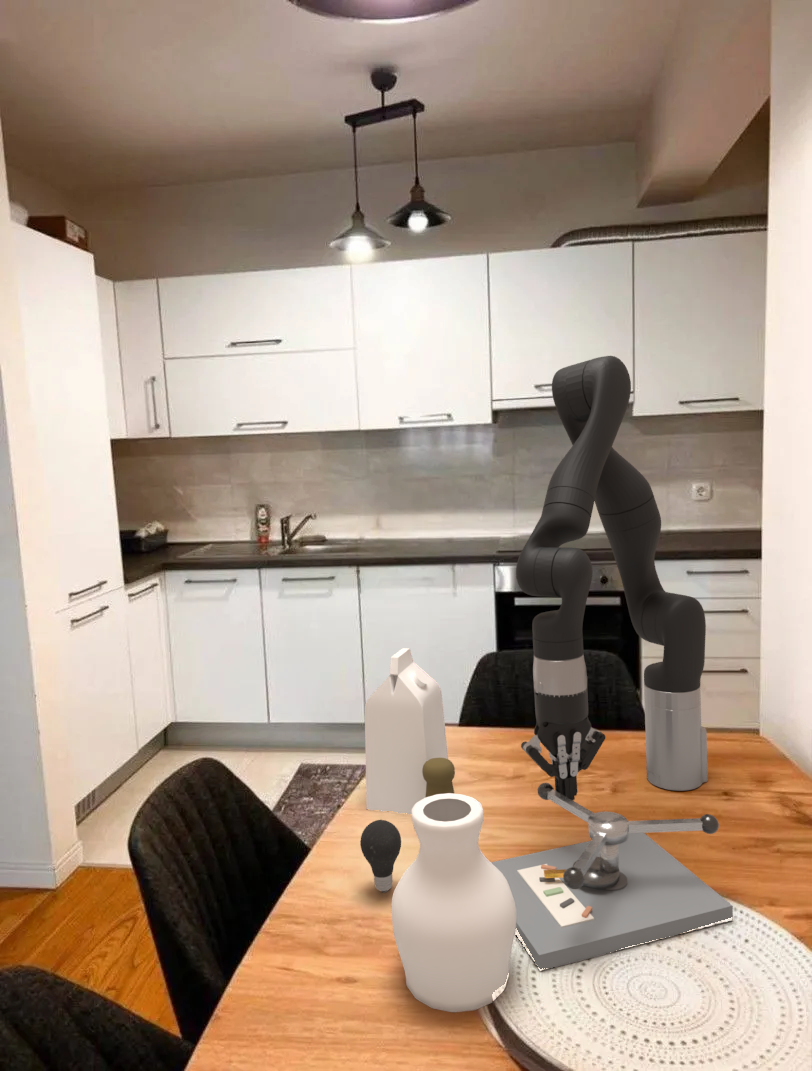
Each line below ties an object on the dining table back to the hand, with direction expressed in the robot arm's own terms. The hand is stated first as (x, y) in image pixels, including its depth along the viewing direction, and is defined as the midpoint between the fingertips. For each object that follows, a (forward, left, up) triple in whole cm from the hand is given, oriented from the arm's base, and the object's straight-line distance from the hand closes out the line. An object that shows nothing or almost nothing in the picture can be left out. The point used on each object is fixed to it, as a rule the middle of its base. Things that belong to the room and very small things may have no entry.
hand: (566, 798), depth 109 cm
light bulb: (+28, 0, -8) cm, 29 cm away
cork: (+15, -14, -8) cm, 22 cm away
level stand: (+2, +12, -8) cm, 14 cm away
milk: (+17, -26, -8) cm, 32 cm away
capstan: (-3, +13, -5) cm, 14 cm away
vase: (+24, +19, -8) cm, 32 cm away
